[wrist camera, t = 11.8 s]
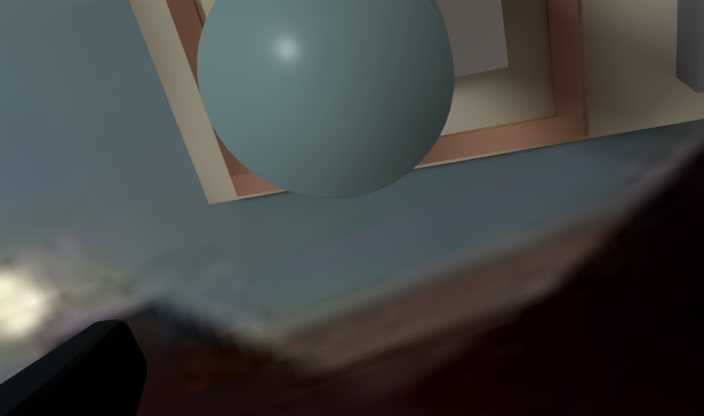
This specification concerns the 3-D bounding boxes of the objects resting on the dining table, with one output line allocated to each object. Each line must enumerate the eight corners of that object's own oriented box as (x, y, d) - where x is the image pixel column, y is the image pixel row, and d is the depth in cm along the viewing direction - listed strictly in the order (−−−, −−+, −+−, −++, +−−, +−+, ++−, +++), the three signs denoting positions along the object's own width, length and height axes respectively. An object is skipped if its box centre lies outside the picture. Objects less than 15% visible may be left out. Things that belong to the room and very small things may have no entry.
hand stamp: (475, -145, 16) (542, -161, 8) (498, 45, 18) (568, 188, 10) (223, -78, 17) (52, -30, 9) (274, 91, 19) (175, 251, 11)
